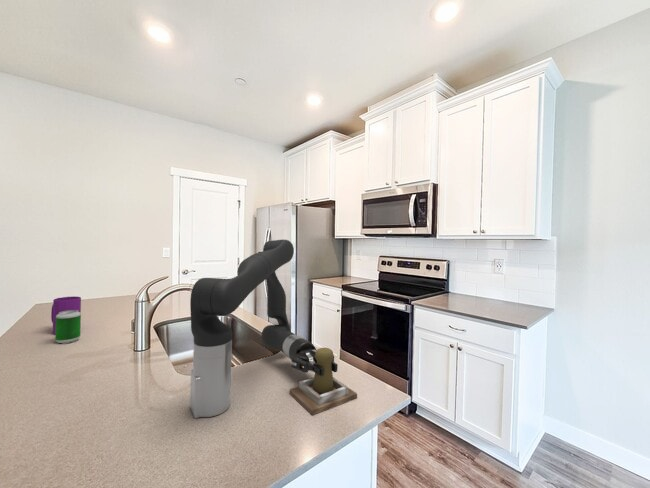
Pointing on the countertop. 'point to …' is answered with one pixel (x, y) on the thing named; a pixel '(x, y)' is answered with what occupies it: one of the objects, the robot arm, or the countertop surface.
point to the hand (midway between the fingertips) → (329, 370)
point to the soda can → (68, 326)
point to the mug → (64, 307)
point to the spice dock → (321, 396)
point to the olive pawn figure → (324, 360)
